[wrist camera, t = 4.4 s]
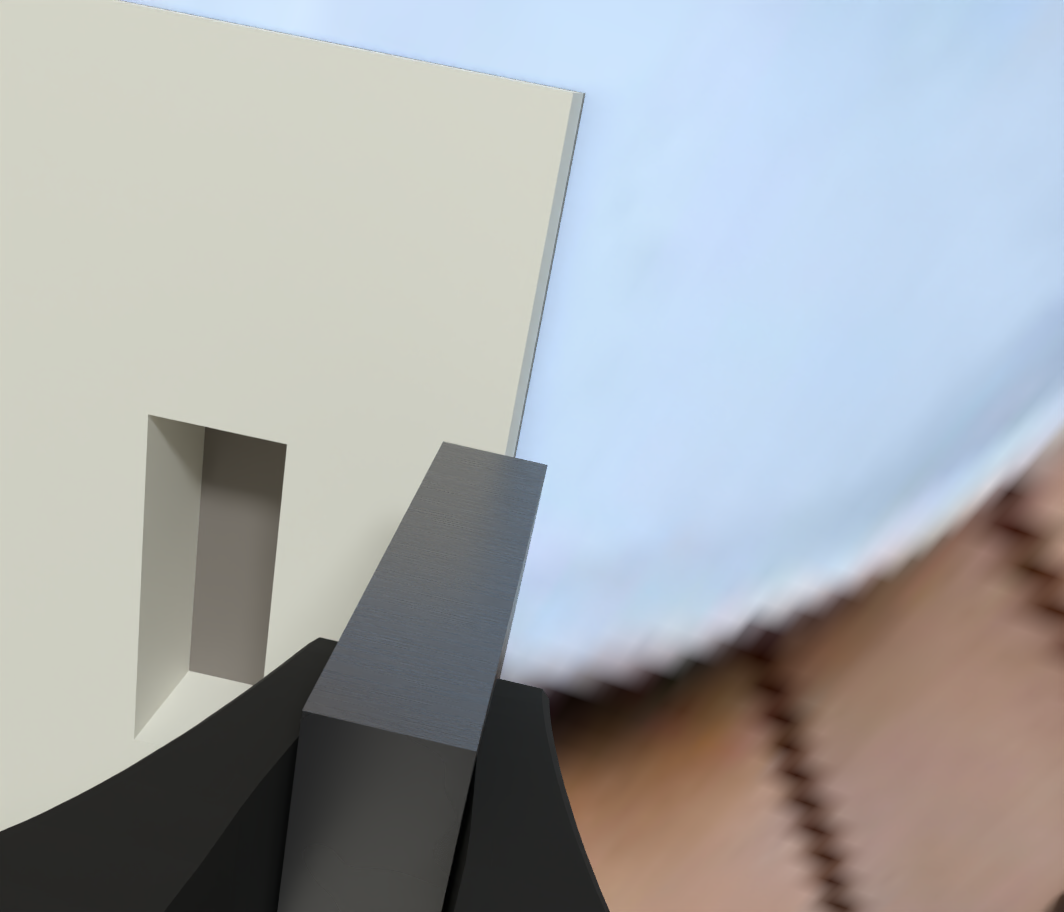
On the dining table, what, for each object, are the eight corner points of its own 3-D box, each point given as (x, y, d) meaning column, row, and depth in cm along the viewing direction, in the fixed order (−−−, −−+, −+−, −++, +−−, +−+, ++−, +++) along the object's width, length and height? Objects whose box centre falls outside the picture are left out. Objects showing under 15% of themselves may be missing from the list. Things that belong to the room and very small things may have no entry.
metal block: (485, 742, 16) (394, 1123, 10) (394, 720, 16) (255, 1087, 10) (547, 464, 14) (475, 751, 8) (442, 441, 14) (302, 710, 8)
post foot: (423, 930, 24) (394, 1038, 22) (41, 841, 25) (-36, 935, 22) (585, 93, 17) (573, 92, 14) (41, -16, 18) (-73, -37, 15)
